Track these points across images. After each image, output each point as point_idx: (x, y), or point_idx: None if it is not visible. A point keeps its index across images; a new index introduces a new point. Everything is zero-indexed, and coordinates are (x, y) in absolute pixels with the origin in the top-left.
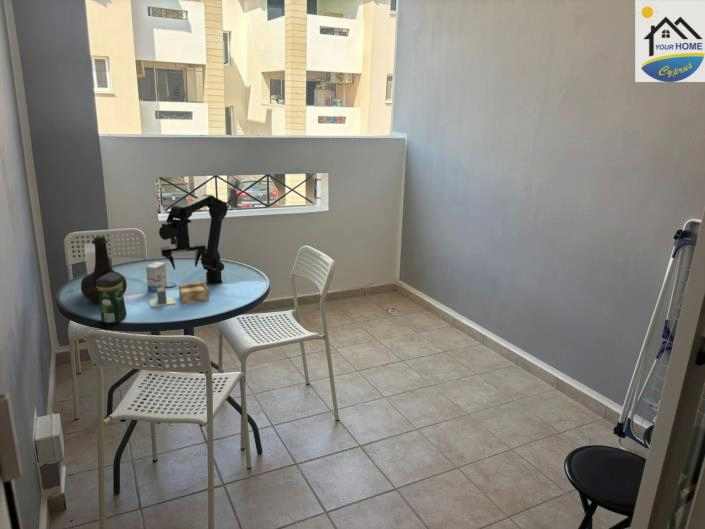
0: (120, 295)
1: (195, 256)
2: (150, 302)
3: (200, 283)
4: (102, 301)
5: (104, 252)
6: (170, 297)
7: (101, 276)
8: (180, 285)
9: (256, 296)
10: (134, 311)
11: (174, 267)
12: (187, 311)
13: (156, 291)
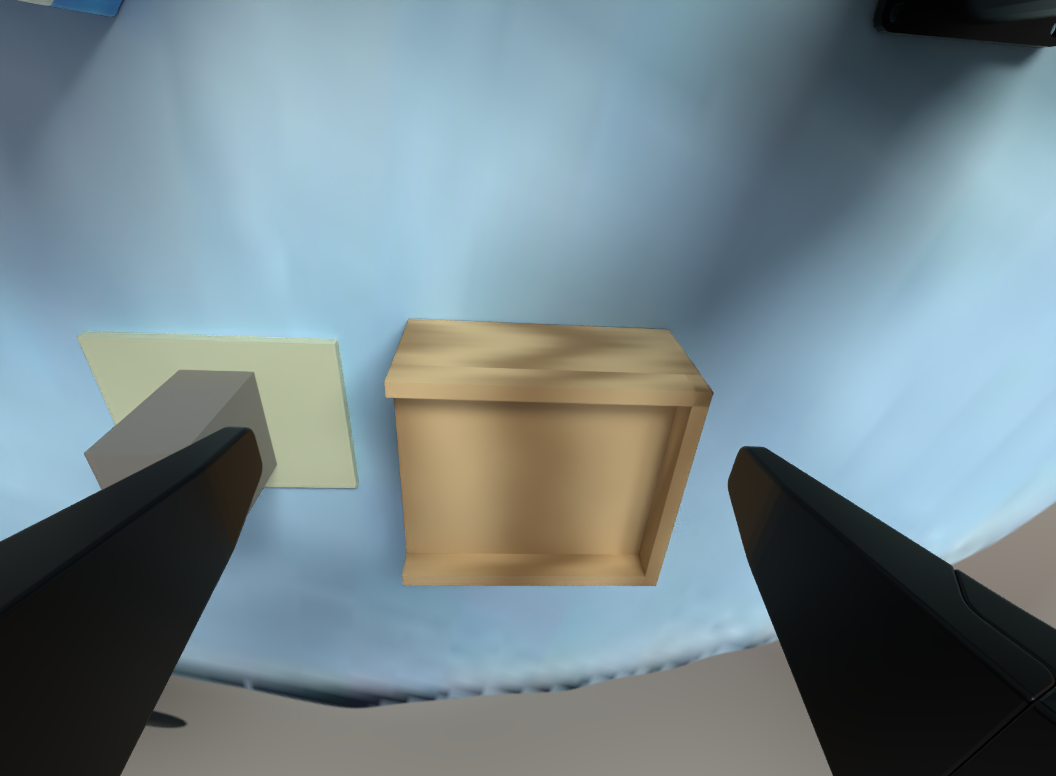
0: None
1: (931, 753)
2: (113, 396)
3: (660, 403)
4: None
5: None
6: (310, 345)
7: None
8: (407, 395)
9: (956, 546)
10: (18, 503)
11: (227, 533)
12: (429, 610)
13: (98, 11)
